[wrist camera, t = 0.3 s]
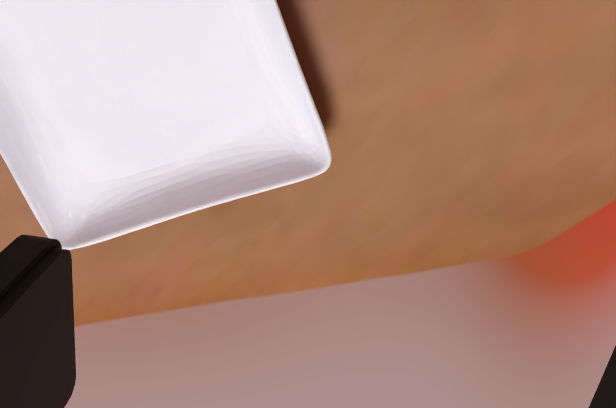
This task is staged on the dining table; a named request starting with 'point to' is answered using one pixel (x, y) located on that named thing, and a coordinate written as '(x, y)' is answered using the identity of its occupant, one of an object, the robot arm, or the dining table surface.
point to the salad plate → (150, 110)
